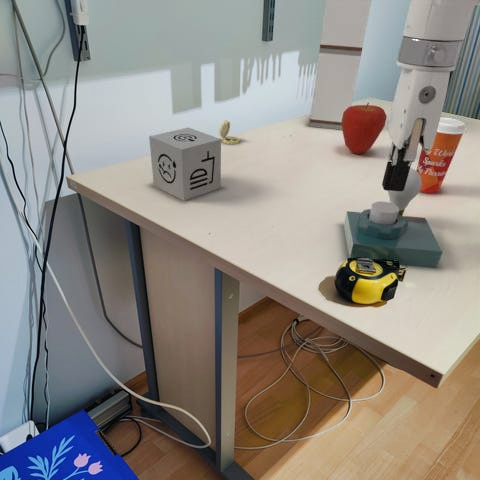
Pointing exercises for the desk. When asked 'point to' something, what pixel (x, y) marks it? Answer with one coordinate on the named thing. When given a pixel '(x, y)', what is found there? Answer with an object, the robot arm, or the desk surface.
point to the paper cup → (439, 154)
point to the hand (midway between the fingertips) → (392, 188)
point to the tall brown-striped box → (338, 60)
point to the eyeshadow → (224, 131)
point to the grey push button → (383, 213)
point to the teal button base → (392, 239)
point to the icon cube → (186, 162)
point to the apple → (362, 126)
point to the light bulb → (406, 191)
